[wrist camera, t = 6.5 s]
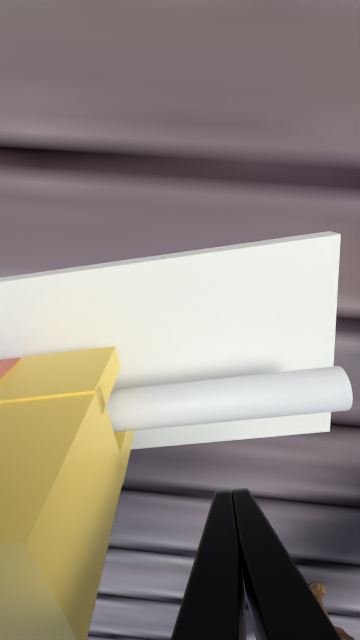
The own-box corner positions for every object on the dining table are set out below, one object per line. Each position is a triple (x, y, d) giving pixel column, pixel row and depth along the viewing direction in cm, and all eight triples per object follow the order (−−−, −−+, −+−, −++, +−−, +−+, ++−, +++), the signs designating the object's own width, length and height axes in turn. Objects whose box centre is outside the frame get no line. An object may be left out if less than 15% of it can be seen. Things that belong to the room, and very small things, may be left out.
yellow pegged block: (115, 345, 12) (24, 539, 6) (136, 426, 14) (84, 654, 7) (22, 357, 13) (-174, 553, 6) (52, 434, 14) (-73, 660, 8)
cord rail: (330, 230, 13) (513, 285, 6) (322, 418, 17) (425, 595, 9) (-142, 297, 15) (-469, 405, 7) (-52, 453, 19) (-209, 625, 11)
